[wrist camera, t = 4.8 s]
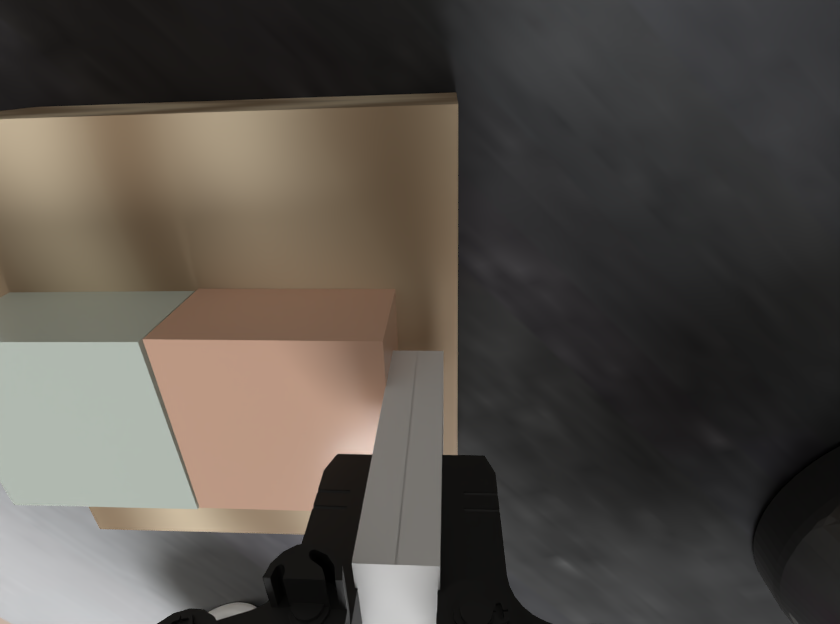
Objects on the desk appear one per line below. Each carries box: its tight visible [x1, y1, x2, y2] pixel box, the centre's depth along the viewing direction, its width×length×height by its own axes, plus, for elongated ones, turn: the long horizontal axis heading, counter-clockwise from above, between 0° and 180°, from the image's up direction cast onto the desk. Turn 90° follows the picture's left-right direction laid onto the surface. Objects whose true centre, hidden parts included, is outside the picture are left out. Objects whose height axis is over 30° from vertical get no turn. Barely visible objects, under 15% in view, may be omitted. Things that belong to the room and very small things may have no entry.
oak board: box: [0, 92, 458, 534], centre depth 18 cm, size 15×16×5 cm
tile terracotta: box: [143, 288, 398, 511], centre depth 14 cm, size 6×6×3 cm
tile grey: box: [0, 291, 199, 509], centre depth 15 cm, size 6×6×3 cm
